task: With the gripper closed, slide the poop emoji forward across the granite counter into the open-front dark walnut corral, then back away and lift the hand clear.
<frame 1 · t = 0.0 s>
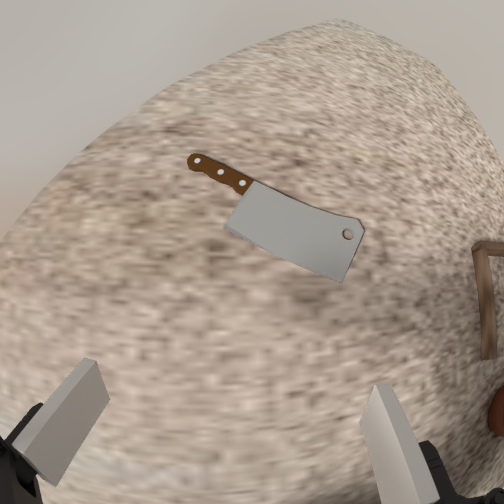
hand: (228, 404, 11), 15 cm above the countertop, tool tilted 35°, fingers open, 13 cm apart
kitchen cleaver: (259, 213, 32), on the countertop
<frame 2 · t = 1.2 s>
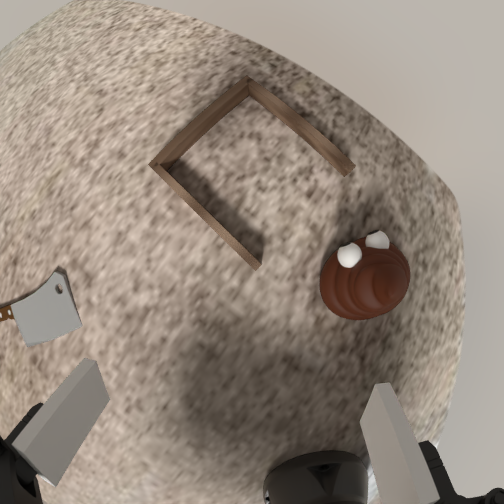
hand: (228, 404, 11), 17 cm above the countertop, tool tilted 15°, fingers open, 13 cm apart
poop emoji: (359, 275, 28), on the countertop
walnut corral: (253, 169, 28), on the countertop
kitchen cleaver: (28, 319, 30), on the countertop
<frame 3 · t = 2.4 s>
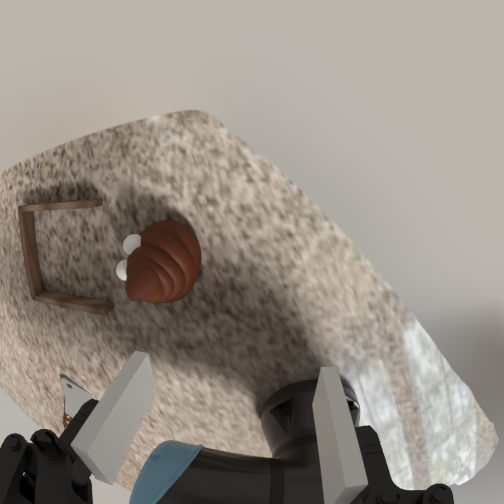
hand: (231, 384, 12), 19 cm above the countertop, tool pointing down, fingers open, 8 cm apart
poop emoji: (167, 258, 32), on the countertop
walnut corral: (66, 253, 32), on the countertop
kitchen cleaver: (78, 411, 43), on the countertop
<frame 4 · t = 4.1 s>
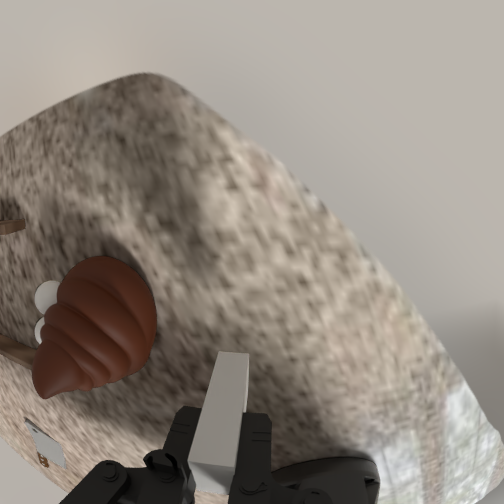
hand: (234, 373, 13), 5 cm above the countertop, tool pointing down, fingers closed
poop emoji: (112, 311, 19), on the countertop
kitchen cleaver: (50, 452, 30), on the countertop
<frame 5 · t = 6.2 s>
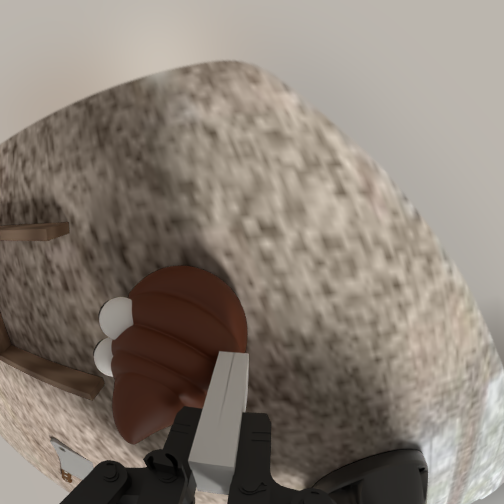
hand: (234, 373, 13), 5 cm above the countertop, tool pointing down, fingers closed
poop emoji: (183, 326, 18), on the countertop, touching gripper
walnut corral: (28, 302, 19), on the countertop
kitchen cleaver: (76, 469, 29), on the countertop
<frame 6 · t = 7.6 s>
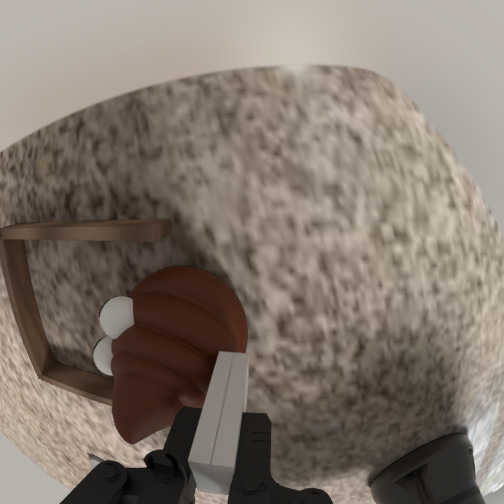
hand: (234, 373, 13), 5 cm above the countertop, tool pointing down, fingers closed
poop emoji: (183, 327, 18), on the countertop, touching gripper
walnut corral: (90, 314, 18), on the countertop
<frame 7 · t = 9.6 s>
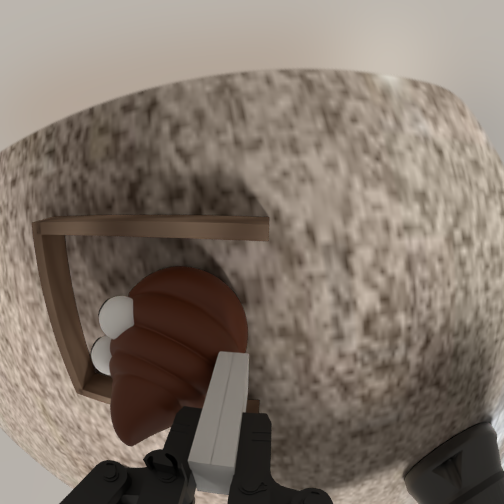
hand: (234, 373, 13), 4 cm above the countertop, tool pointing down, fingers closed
poop emoji: (182, 327, 18), on the countertop, touching gripper
walnut corral: (153, 321, 18), on the countertop
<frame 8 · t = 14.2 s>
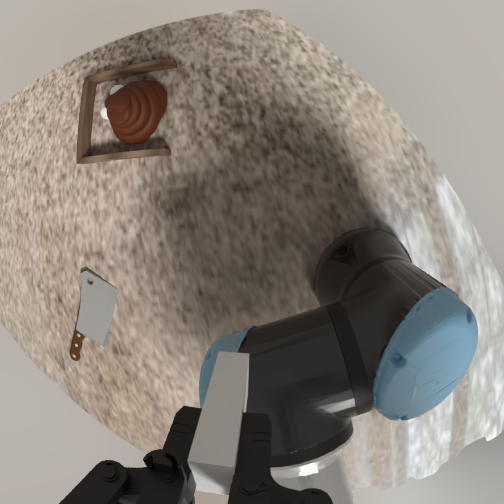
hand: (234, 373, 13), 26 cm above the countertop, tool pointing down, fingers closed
poop emoji: (142, 113, 35), on the countertop
walnut corral: (127, 112, 34), on the countertop
kitchen cleaver: (92, 325, 45), on the countertop
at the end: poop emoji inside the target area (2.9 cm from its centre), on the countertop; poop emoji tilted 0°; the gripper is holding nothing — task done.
